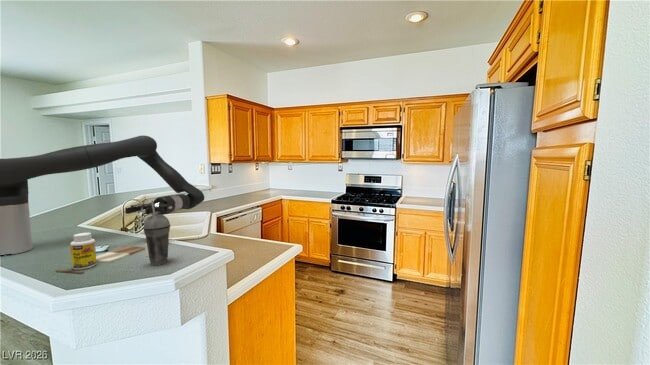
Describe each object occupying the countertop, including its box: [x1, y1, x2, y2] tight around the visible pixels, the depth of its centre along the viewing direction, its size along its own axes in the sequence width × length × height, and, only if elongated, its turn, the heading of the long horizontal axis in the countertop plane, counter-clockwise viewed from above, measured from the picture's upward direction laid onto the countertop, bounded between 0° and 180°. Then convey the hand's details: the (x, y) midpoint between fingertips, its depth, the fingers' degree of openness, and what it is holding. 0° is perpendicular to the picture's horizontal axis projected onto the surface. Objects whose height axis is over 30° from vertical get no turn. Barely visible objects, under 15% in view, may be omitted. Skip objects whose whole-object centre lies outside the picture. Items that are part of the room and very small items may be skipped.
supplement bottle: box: [69, 232, 97, 271], centre depth 81 cm, size 6×6×10 cm
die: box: [144, 243, 149, 257], centre depth 92 cm, size 4×4×4 cm
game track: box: [55, 245, 145, 275], centre depth 88 cm, size 9×22×1 cm, turn 170°
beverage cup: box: [142, 200, 171, 267], centre depth 83 cm, size 7×7×20 cm
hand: (136, 211), depth 99 cm, fingers open, 8 cm apart
